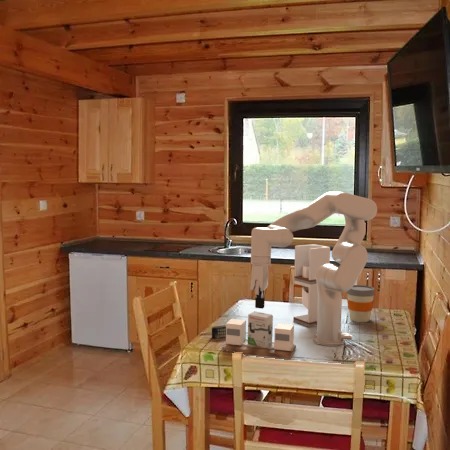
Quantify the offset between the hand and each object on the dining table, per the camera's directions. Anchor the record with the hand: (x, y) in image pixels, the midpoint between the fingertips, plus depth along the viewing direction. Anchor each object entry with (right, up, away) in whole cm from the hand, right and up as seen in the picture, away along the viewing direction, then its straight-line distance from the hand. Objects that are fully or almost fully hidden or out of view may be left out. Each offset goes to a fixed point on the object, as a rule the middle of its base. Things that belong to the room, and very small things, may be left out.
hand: (259, 307), depth 199 cm
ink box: (0, -15, +2) cm, 15 cm away
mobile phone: (-12, -15, +18) cm, 26 cm away
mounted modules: (0, -14, +1) cm, 14 cm away
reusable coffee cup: (+50, -13, +45) cm, 69 cm away
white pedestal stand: (+26, -13, +39) cm, 49 cm away
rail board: (0, -16, +2) cm, 17 cm away
